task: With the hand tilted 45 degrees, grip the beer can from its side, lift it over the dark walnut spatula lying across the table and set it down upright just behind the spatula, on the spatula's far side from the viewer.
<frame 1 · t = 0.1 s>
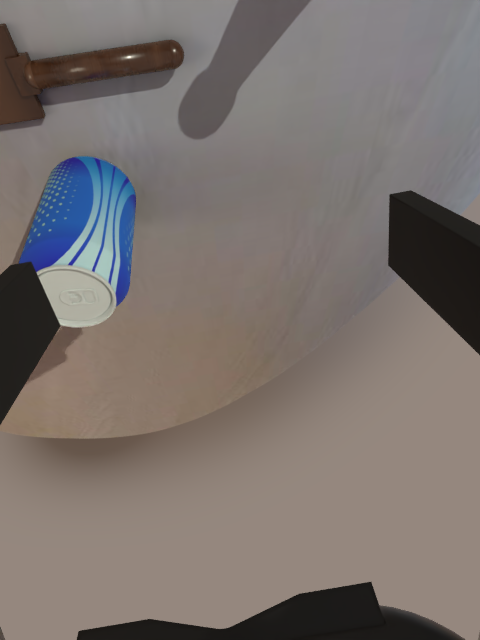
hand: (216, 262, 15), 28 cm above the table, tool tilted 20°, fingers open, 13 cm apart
beer can: (94, 188, 42), on the table
spatula: (45, 69, 34), on the table
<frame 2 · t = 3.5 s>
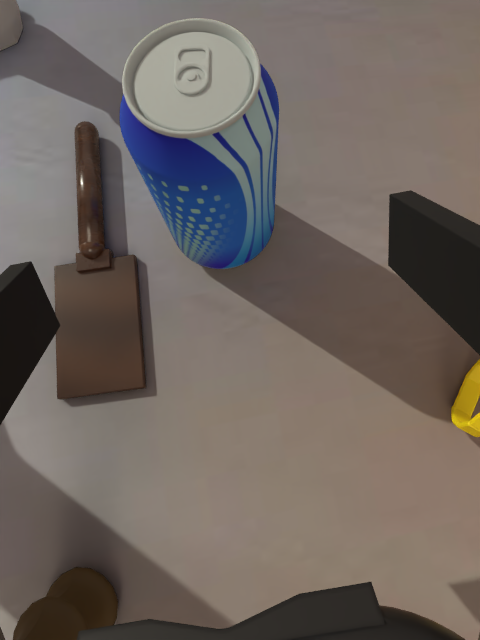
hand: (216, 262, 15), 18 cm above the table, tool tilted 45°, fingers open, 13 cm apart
beer can: (224, 228, 35), on the table
kendama: (86, 603, 29), on the table
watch: (465, 395, 31), on the table
spatula: (96, 246, 35), on the table
salt shaker: (3, 35, 41), on the table
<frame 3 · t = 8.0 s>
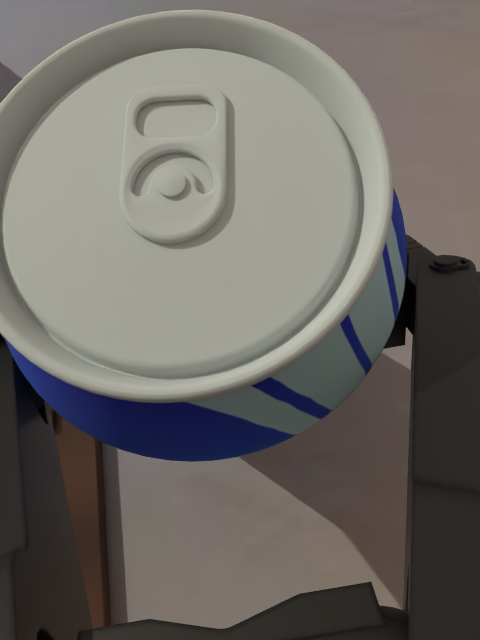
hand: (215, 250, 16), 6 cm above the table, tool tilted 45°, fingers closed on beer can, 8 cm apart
beer can: (240, 357, 22), on the table, touching gripper
spatula: (35, 387, 22), on the table
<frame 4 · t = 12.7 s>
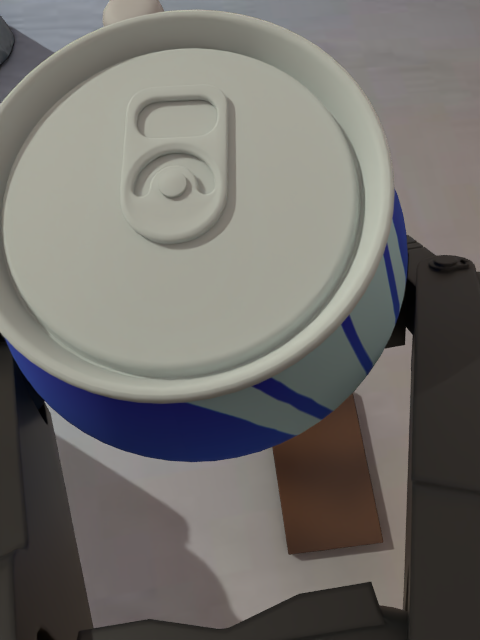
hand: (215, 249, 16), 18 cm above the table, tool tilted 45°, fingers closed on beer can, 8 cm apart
beer can: (240, 357, 22), point 12 cm above the table, touching gripper
spatula: (304, 376, 33), on the table
salt shaker: (173, 139, 40), on the table
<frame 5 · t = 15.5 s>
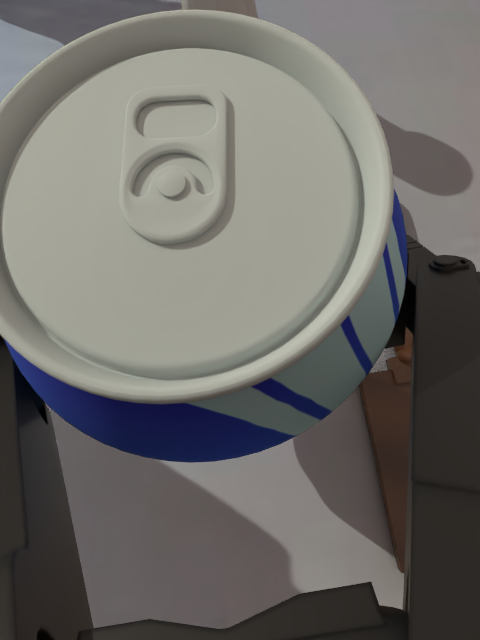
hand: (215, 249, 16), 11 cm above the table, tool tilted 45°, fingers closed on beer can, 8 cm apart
beer can: (240, 357, 22), point 5 cm above the table, touching gripper
spatula: (404, 344, 26), on the table
salt shaker: (224, 63, 33), on the table
when the fingers open (6 cm above the table, at t = 17.4 s): beer can stays where it is, on the table.
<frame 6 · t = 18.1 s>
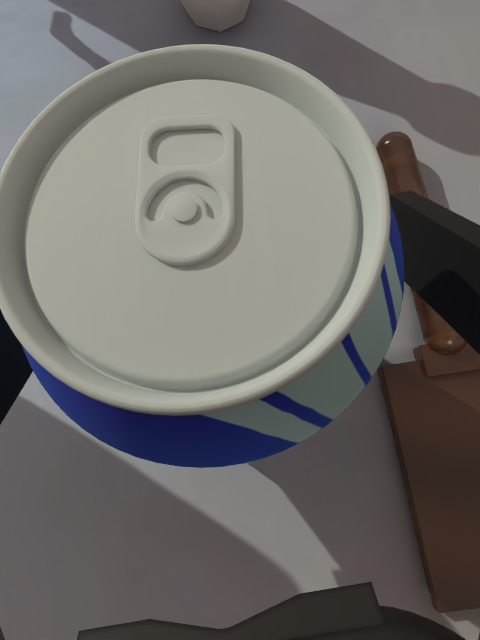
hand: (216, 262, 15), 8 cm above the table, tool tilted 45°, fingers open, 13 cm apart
beer can: (242, 361, 22), on the table
spatula: (435, 330, 22), on the table
salt shaker: (219, 11, 29), on the table
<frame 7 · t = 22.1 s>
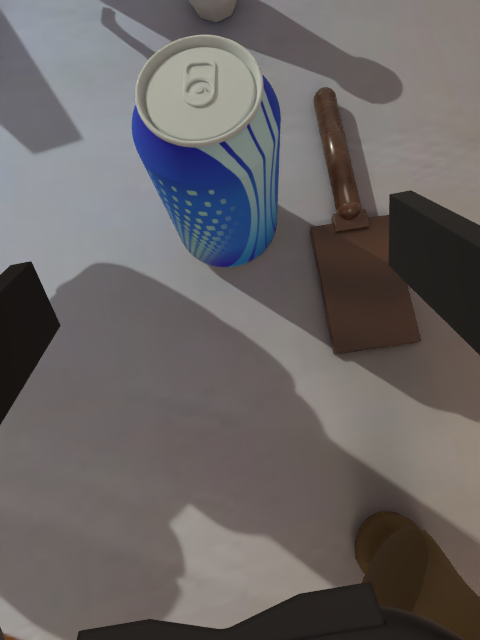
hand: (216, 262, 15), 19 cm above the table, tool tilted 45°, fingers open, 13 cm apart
beer can: (229, 228, 36), on the table
kendama: (388, 546, 30), on the table
spatula: (345, 208, 36), on the table
salt shaker: (216, 8, 42), on the table
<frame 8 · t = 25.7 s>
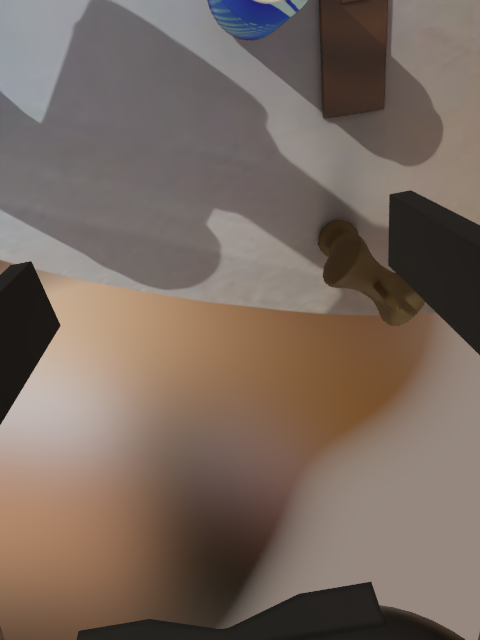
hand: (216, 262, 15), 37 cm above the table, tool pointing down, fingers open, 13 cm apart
kendama: (336, 237, 54), on the table
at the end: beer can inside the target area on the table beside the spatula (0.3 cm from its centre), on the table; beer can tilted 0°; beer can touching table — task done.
